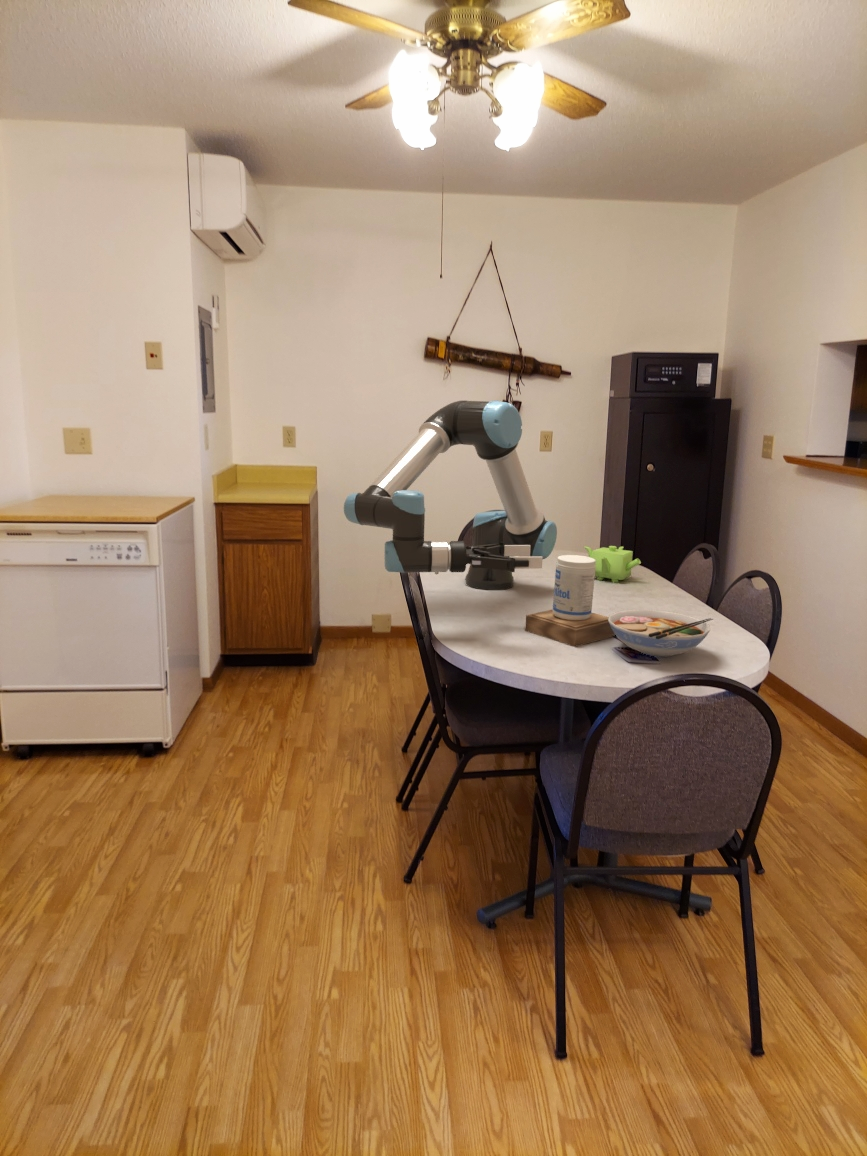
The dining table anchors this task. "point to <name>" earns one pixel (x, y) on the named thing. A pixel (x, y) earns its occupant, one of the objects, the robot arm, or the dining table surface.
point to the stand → (569, 628)
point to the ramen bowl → (658, 631)
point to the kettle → (612, 562)
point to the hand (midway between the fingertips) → (535, 556)
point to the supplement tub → (574, 587)
